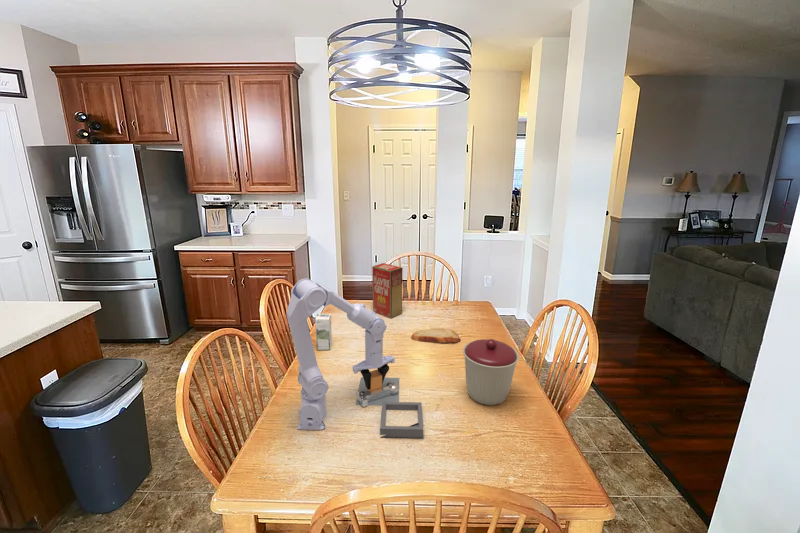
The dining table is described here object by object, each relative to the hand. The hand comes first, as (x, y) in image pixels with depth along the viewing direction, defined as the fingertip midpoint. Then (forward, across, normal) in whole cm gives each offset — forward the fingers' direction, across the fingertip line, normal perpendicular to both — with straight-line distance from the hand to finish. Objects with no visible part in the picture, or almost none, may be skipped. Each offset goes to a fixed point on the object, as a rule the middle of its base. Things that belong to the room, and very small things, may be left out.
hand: (374, 385), depth 128 cm
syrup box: (+4, +4, -40) cm, 41 cm away
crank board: (+4, -2, 0) cm, 4 cm away
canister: (+4, -34, +18) cm, 39 cm away
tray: (+4, -1, +17) cm, 17 cm away
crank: (+2, 0, +3) cm, 4 cm away
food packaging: (+4, -37, -61) cm, 71 cm away
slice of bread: (+4, -43, -25) cm, 50 cm away
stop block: (+1, 0, 0) cm, 1 cm away
